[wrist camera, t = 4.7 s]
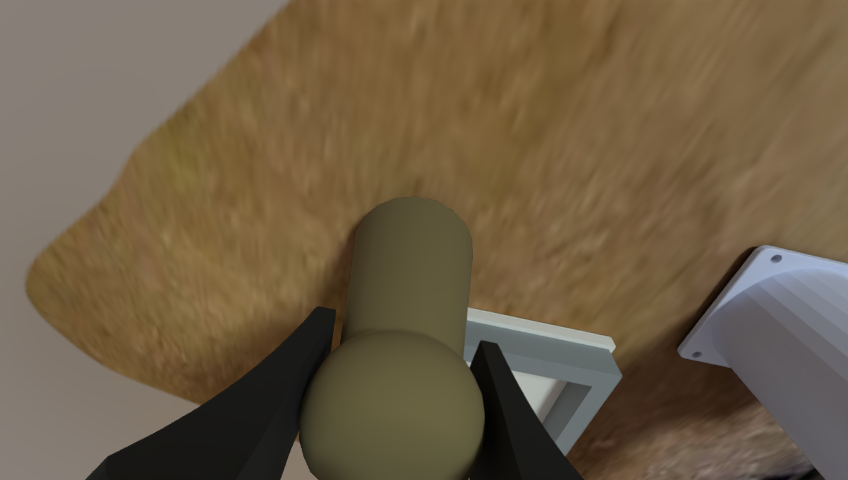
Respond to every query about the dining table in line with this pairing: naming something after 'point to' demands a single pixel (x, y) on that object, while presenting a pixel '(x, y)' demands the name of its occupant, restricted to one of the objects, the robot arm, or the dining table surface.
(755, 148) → the dining table surface
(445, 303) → the olive knobbed tapered peg
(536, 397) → the socket board
